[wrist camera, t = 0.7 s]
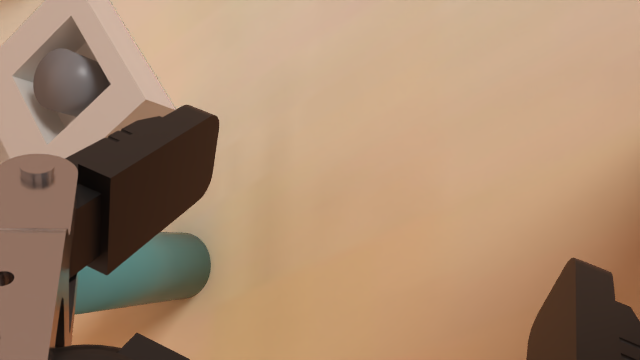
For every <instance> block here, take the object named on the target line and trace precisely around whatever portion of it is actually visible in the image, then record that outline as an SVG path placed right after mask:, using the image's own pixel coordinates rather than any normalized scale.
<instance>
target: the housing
mask: <svg viewBox="0 0 640 360" xmlns="http://www.w3.org/2000/svg"><path fill="white" fill-rule="evenodd" d="M175 110H176V109H175V107H174V106H173V104H172V103H171V101H170V99H169V98H168V96H167V94H166V93H165V91H164V89H163V88H162V86H161V84H160V83H159V81H158V80H157V78H156V76H155V75H154V73H153V71H152V70H151V68H150V66H149V65H148V63H147V62H146V60H145V58H144V57H143V55H142V53H141V52H140V50H139V48H138V47H137V45H136V43H135V42H134V40H133V39H132V37H131V35H130V34H129V32H128V30H127V29H126V27H125V25H124V24H123V22H122V20H121V19H120V17H119V16H118V14H117V12H116V11H115V9H114V7H113V6H112V4H111V2H110V1H109V0H44V1H43V2H42V4H41V5H40V6H39V7H38V8H37V9H36V10H35V11H34V12H33V13H32V14H31V15H30V16H29V17H28V18H27V19H26V20H25V21H24V22H23V23H22V24H21V25H20V27H19V28H18V29H17V30H16V31H15V32H14V33H13V34H12V35H11V36H10V37H9V38H8V39H7V40H6V41H5V42H4V43H3V44H2V45H1V46H0V164H2V163H3V162H4V161H6V160H8V159H11V158H13V157H17V156H21V155H26V154H50V155H55V156H59V157H62V158H64V159H65V158H67V157H69V156H70V155H72V154H74V153H76V152H78V151H80V150H82V149H84V148H86V147H88V146H90V145H91V144H93V143H95V142H97V141H99V140H101V139H103V138H108V136H109V135H110V134H112V133H114V132H116V131H121V129H122V128H124V127H126V126H128V125H130V124H131V123H133V122H135V121H137V120H142V119H147V118H152V117H157V116H161V117H164V116H166V115H167V114H169V113H171V112H173V111H175Z"/></svg>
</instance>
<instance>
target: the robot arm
mask: <svg viewBox="0 0 640 360" xmlns="http://www.w3.org/2000/svg"><path fill="white" fill-rule="evenodd" d="M218 132H219V120H218V117H217V116H215V115H213V114H210V113H208V112H205V111H202V110H200V109H197V108H195V107H192V106H190V105H184V106H182V107H180V108H178V109H176V110H175V111H173V112H171V113H169V114H167V115H166V116H164V117H161V116H157V117H152V118H147V119H142V120H137V121H135V122H133V123H131V124H130V125H128V126H126V127H124V128H122V129H121V131H116V132H114V133H112V134H110V135H109V136H108V138H103V139H101V140H99V141H97V142H95V143H93V144H91V145H90V146H88V147H86V148H84V149H82V150H80V151H78V152H76V153H74V154H72V155H70V156H69V157H67V158H65V159H64V158H62V157H59V156H55V155H50V154H26V155H21V156H17V157H13V158H11V159H8V160H6V161H4V162H3V163H2V164H0V360H190V359H188V358H186V357H184V356H182V355H180V354H178V353H176V352H174V351H172V350H170V349H168V348H166V347H164V346H162V345H160V344H158V343H156V342H154V341H152V340H150V339H148V338H146V337H144V336H142V335H140V334H138V333H136V334H135V335H134V336H133V337H132V338H131V339H130V340H129V341H128V342H127V343H126V344H125V345H124V346H123V347H122V348H118V347H112V346H104V345H71V342H72V333H73V323H74V314H75V305H76V295H77V286H78V272H79V271H81V270H82V269H83V268H84V267H86V266H88V267H90V268H92V269H94V270H96V271H98V272H100V273H102V274H104V275H109V274H110V273H111V272H112V271H114V270H115V269H116V268H117V267H118V266H120V265H121V264H122V263H123V262H124V261H126V260H127V259H128V258H129V257H131V256H132V255H133V254H134V253H135V252H137V251H138V250H139V249H140V248H141V247H143V246H144V245H145V244H146V243H147V242H149V241H150V240H151V239H152V238H154V237H155V236H156V235H157V234H158V233H160V232H161V231H162V230H163V229H164V228H166V227H167V226H168V225H169V224H170V223H172V222H173V221H174V220H175V219H177V218H178V217H179V216H180V215H181V214H183V213H184V212H185V211H186V210H187V209H189V208H190V207H191V206H192V205H194V204H195V203H196V202H197V201H198V200H199V199H201V197H202V196H203V195H204V194H205V192H206V190H207V188H208V186H209V184H210V181H211V178H212V173H213V166H214V159H215V153H216V146H217V139H218ZM527 360H640V321H639V320H638V318H637V317H636V315H635V313H634V312H633V310H632V309H631V307H629V306H627V305H624V304H622V303H619V302H617V301H615V294H614V284H613V276H612V273H611V272H609V271H606V270H604V269H601V268H599V267H596V266H594V265H591V264H589V263H586V262H584V261H581V260H579V259H576V258H571V259H570V260H569V261H568V263H567V264H566V266H565V267H564V269H563V271H562V272H561V274H560V276H559V278H558V279H557V281H556V283H555V285H554V286H553V288H552V290H551V292H550V293H549V295H548V297H547V299H546V300H545V302H544V304H543V306H542V307H541V309H540V311H539V313H538V315H537V317H536V319H535V321H534V324H533V326H532V329H531V332H530V336H529V340H528V349H527Z"/></svg>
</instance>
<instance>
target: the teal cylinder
mask: <svg viewBox="0 0 640 360" xmlns="http://www.w3.org/2000/svg"><path fill="white" fill-rule="evenodd" d="M210 268H211V263H210V256H209V253H208V250H207V248H206V246H205V245H204V243H203V242H202V241H201V240H200V239H199V238H198V237H196V236H194V235H192V234H189V233H170V232H160V233H158V234H157V235H156V236H155V237H154V238H152V239H151V240H150V241H149V242H147V243H146V244H145V245H144V246H143V247H141V248H140V249H139V250H138V251H137V252H135V253H134V254H133V255H132V256H131V257H129V258H128V259H127V260H126V261H124V262H123V263H122V264H121V265H120V266H118V267H117V268H116V269H115V270H114V271H112V272H111V273H110V274H109V275H104V274H102V273H100V272H98V271H96V270H94V269H92V268H90V267H88V266H86V267H84V268H83V269H82V270H81V271H79V272H78V286H77V295H76V305H75V314H82V313H89V312H95V311H102V310H109V309H116V308H123V307H129V306H136V305H143V304H150V303H157V302H163V301H170V300H177V299H184V298H189V297H192V296H194V295H196V294H197V293H199V292H200V291H201V290H202V288H203V287H204V286H205V284H206V282H207V280H208V278H209V274H210ZM75 314H74V315H75Z"/></svg>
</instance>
